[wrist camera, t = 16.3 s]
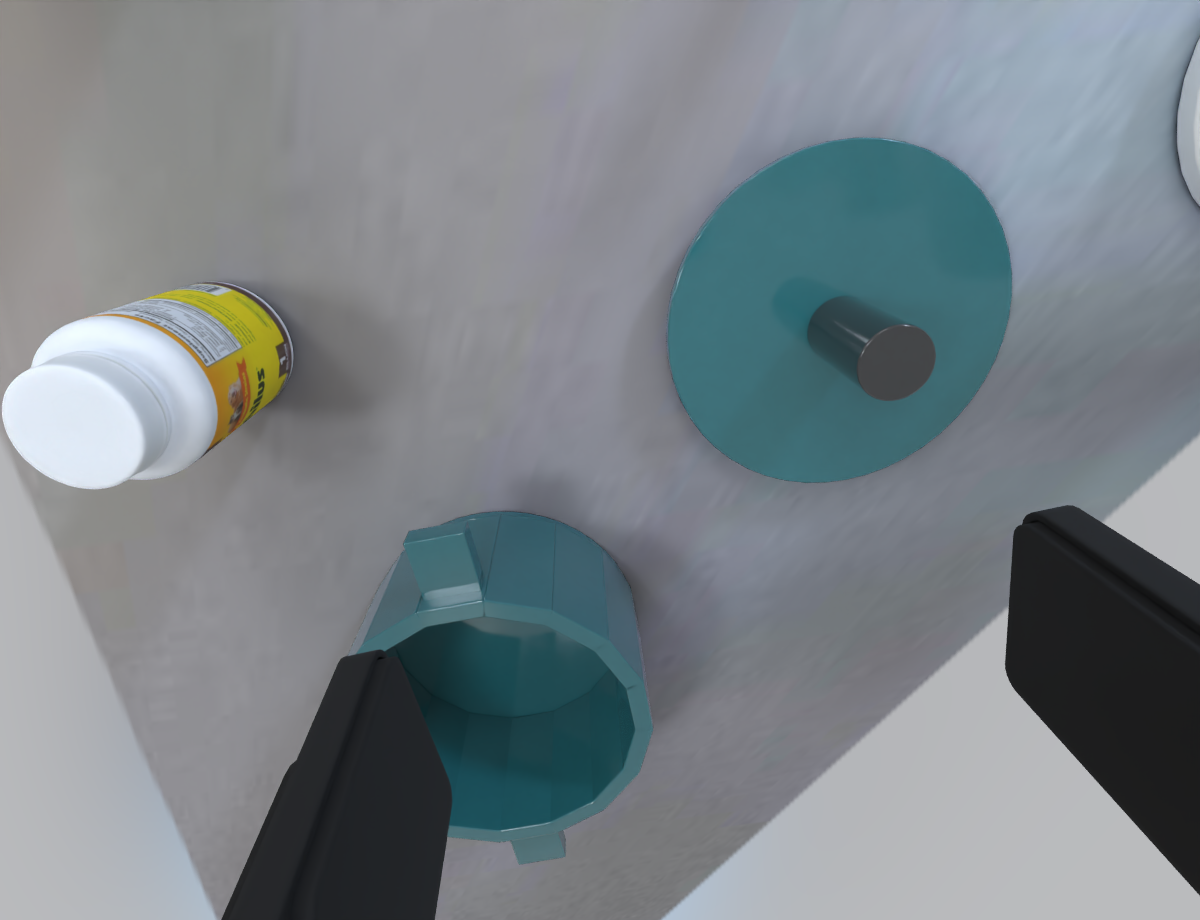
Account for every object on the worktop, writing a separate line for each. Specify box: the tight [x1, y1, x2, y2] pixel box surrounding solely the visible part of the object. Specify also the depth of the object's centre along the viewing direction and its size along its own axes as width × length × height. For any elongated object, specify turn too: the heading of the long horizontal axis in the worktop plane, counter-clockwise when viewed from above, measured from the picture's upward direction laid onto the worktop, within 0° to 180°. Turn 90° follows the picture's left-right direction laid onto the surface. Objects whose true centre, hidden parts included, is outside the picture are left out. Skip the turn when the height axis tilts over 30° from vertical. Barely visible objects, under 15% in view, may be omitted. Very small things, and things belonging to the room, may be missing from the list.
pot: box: [348, 512, 653, 865], centre depth 32 cm, size 14×19×8 cm
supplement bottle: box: [2, 282, 293, 489], centre depth 24 cm, size 6×6×10 cm
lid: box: [666, 138, 1012, 483], centre depth 26 cm, size 15×15×7 cm
